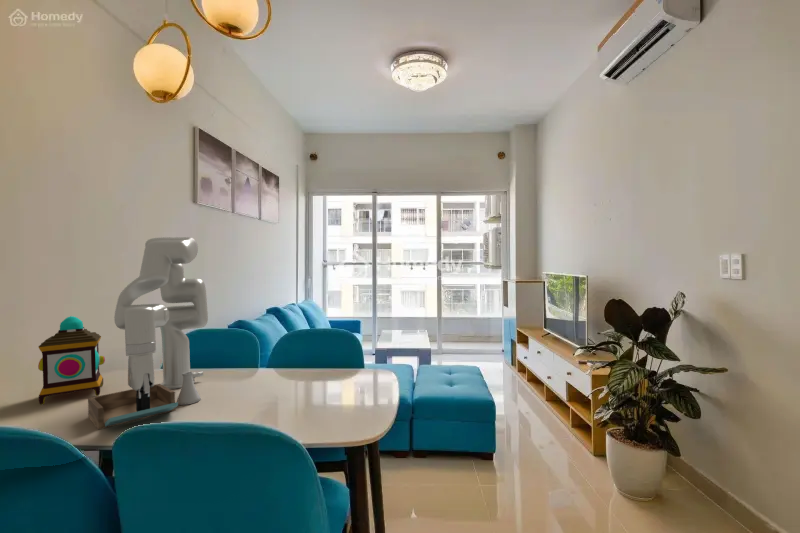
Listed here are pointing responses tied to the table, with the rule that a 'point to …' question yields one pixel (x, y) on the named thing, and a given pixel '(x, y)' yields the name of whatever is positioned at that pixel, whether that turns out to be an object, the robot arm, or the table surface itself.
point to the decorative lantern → (70, 360)
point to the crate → (125, 404)
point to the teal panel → (140, 414)
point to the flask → (188, 390)
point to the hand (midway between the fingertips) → (143, 410)
